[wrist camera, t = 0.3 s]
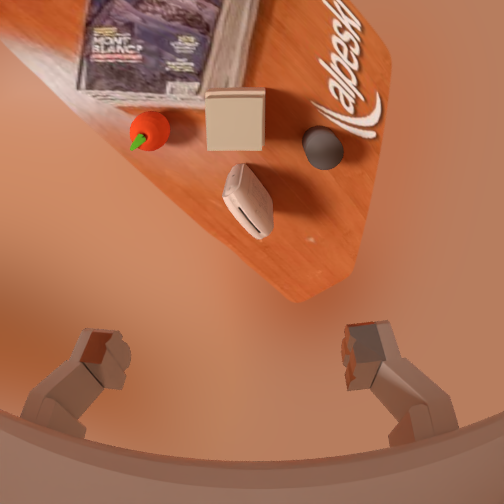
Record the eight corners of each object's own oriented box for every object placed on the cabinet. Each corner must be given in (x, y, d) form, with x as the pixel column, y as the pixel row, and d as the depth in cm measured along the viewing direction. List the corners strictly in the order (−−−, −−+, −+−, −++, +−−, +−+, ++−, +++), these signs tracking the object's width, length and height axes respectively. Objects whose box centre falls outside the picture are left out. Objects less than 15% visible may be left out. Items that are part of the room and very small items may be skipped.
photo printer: (224, 170, 55) (216, 202, 45) (244, 158, 53) (239, 187, 44) (256, 211, 60) (255, 249, 50) (275, 200, 58) (278, 237, 48)
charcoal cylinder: (303, 124, 49) (307, 133, 44) (337, 126, 49) (345, 136, 44) (301, 156, 53) (305, 169, 48) (333, 158, 53) (341, 170, 48)
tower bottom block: (210, 88, 46) (205, 91, 42) (264, 87, 46) (265, 90, 42) (212, 137, 51) (208, 145, 47) (264, 137, 51) (264, 145, 47)
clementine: (153, 154, 53) (140, 169, 47) (127, 130, 50) (111, 141, 44) (182, 126, 50) (172, 137, 44) (156, 99, 47) (141, 107, 41)
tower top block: (209, 94, 42) (205, 98, 39) (262, 94, 42) (262, 98, 39) (211, 143, 47) (207, 150, 44) (261, 142, 47) (261, 150, 44)
